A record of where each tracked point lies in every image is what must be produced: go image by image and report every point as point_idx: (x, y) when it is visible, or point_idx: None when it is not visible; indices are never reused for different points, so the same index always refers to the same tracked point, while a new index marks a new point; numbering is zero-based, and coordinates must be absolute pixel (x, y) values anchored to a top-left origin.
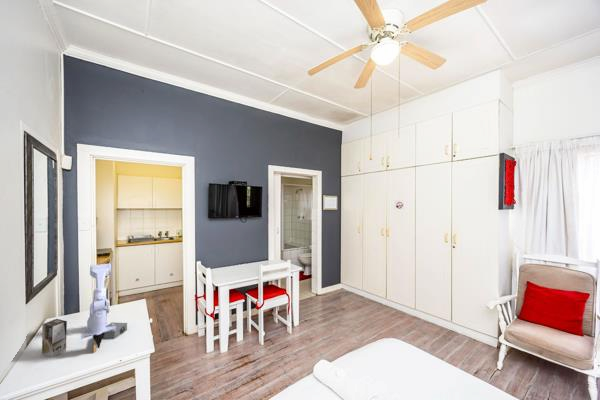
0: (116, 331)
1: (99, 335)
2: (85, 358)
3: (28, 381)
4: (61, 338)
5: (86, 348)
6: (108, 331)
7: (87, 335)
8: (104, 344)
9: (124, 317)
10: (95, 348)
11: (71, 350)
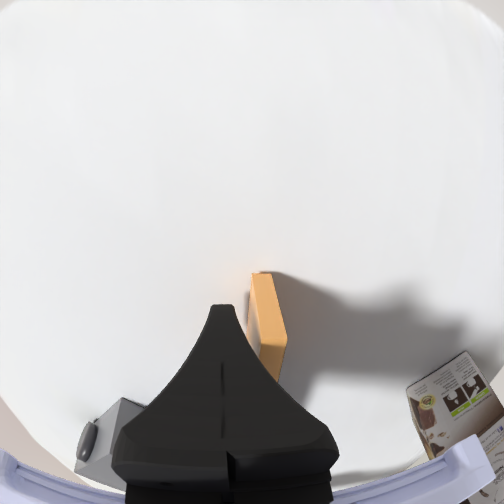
0: (105, 446)
1: (212, 481)
2: (350, 197)
3: None
4: None
5: (313, 376)
6: (72, 484)
7: (437, 493)
8: None
9: None
10: (258, 299)
11: (387, 384)
